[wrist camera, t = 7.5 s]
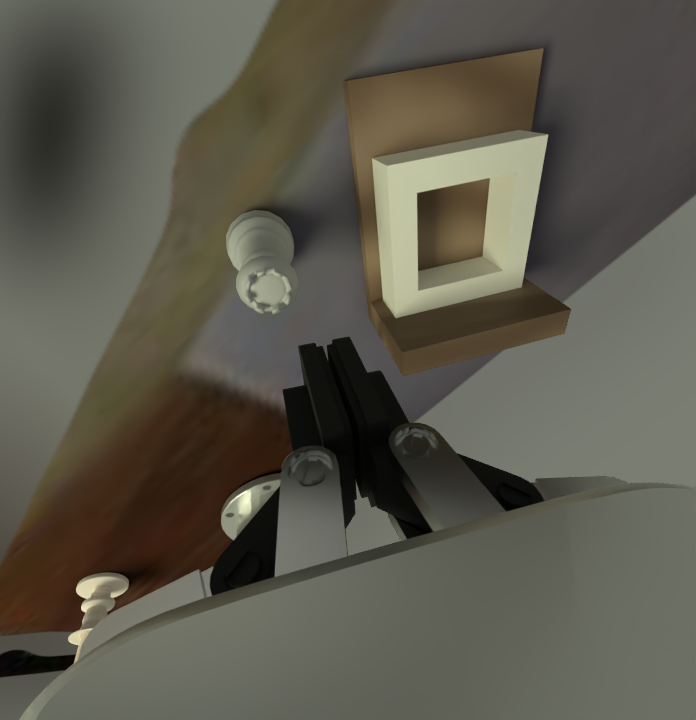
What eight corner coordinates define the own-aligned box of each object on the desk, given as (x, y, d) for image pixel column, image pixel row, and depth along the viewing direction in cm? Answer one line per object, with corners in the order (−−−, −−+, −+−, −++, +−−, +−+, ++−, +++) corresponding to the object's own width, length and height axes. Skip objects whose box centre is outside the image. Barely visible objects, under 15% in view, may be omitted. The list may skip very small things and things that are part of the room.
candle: (136, 587, 46) (115, 695, 38) (90, 599, 45) (59, 713, 37) (117, 567, 43) (90, 681, 34) (68, 580, 42) (28, 700, 34)
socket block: (500, 272, 30) (521, 287, 28) (382, 300, 29) (395, 318, 27) (518, 129, 24) (548, 134, 22) (371, 158, 23) (386, 165, 21)
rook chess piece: (288, 204, 25) (308, 245, 18) (296, 269, 27) (315, 323, 21) (218, 211, 24) (213, 256, 18) (233, 277, 27) (234, 336, 20)
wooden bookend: (500, 285, 33) (564, 333, 26) (369, 318, 31) (403, 376, 25) (533, 49, 23) (646, 35, 17) (343, 80, 21) (389, 78, 15)
